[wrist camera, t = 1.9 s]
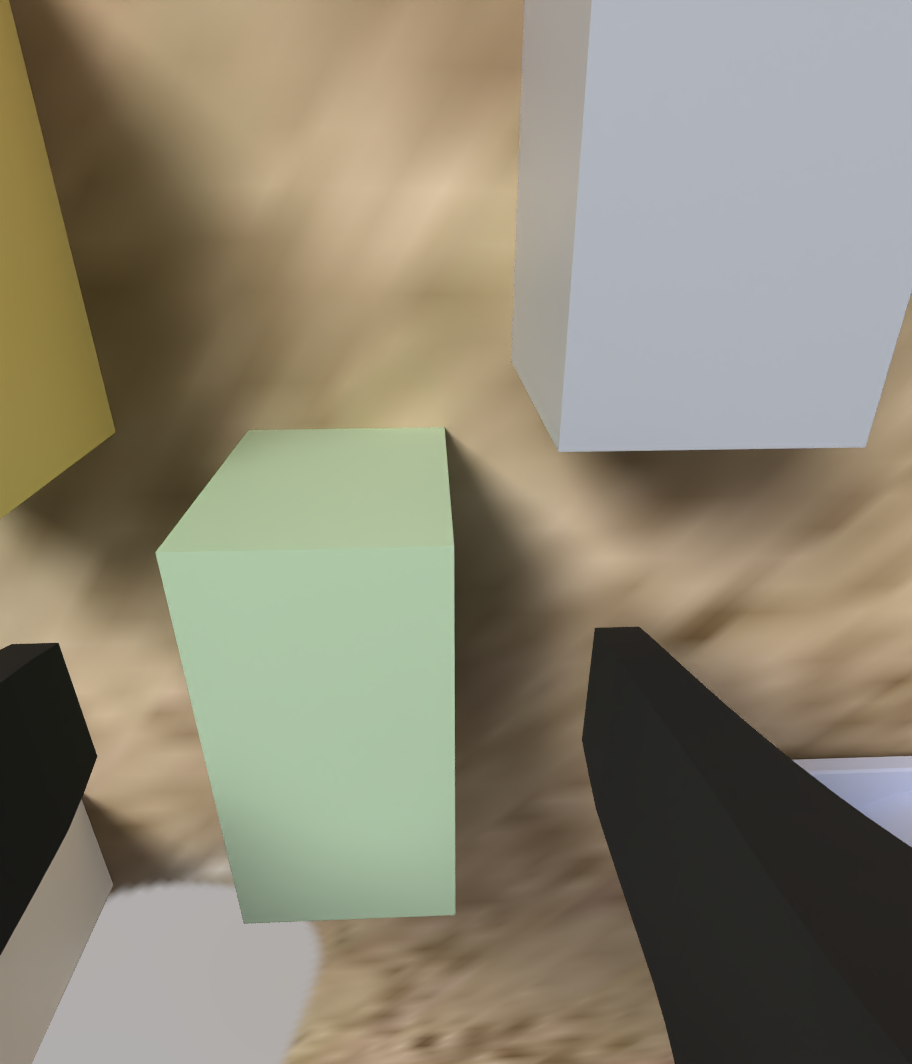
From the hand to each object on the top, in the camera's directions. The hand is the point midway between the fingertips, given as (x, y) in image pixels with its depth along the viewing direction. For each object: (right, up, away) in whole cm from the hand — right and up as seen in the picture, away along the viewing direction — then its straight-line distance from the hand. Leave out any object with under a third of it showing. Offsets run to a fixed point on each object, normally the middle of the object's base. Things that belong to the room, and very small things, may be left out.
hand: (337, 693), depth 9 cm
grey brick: (+4, +7, -1) cm, 8 cm away
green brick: (0, +1, +2) cm, 3 cm away
